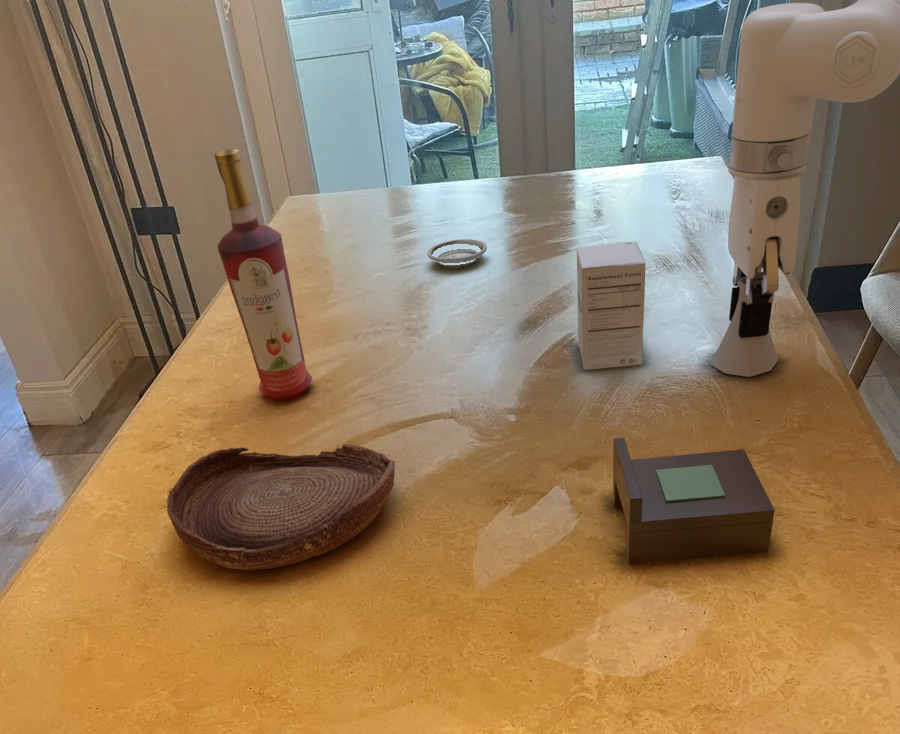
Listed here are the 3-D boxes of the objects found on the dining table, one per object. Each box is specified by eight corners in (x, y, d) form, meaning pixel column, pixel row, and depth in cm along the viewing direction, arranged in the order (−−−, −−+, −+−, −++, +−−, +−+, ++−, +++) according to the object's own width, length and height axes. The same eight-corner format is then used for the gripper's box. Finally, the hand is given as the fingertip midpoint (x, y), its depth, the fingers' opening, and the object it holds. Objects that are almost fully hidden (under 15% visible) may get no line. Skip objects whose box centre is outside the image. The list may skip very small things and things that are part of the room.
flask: (751, 384, 96) (762, 297, 90) (699, 367, 101) (706, 283, 95) (788, 361, 100) (802, 276, 93) (736, 346, 104) (746, 263, 98)
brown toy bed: (738, 489, 81) (747, 425, 77) (768, 552, 73) (779, 485, 69) (612, 501, 82) (613, 438, 78) (628, 564, 74) (630, 498, 70)
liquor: (315, 375, 112) (261, 140, 94) (317, 400, 106) (260, 154, 88) (260, 384, 111) (195, 150, 93) (259, 410, 106) (189, 165, 88)
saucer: (500, 259, 137) (499, 244, 136) (456, 278, 133) (454, 262, 131) (460, 249, 143) (458, 234, 142) (417, 267, 139) (415, 252, 137)
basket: (392, 450, 94) (385, 410, 91) (411, 557, 79) (404, 513, 76) (191, 485, 93) (176, 446, 90) (170, 600, 78) (152, 557, 75)
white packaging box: (577, 346, 109) (575, 245, 101) (635, 340, 109) (638, 239, 100) (581, 371, 104) (580, 267, 96) (643, 366, 103) (647, 260, 95)
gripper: (834, 170, 79) (803, 355, 91) (782, 130, 92) (761, 297, 104) (752, 179, 80) (732, 362, 91) (712, 139, 92) (699, 304, 104)
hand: (748, 326), depth 97 cm, fingers closed on flask, 3 cm apart
